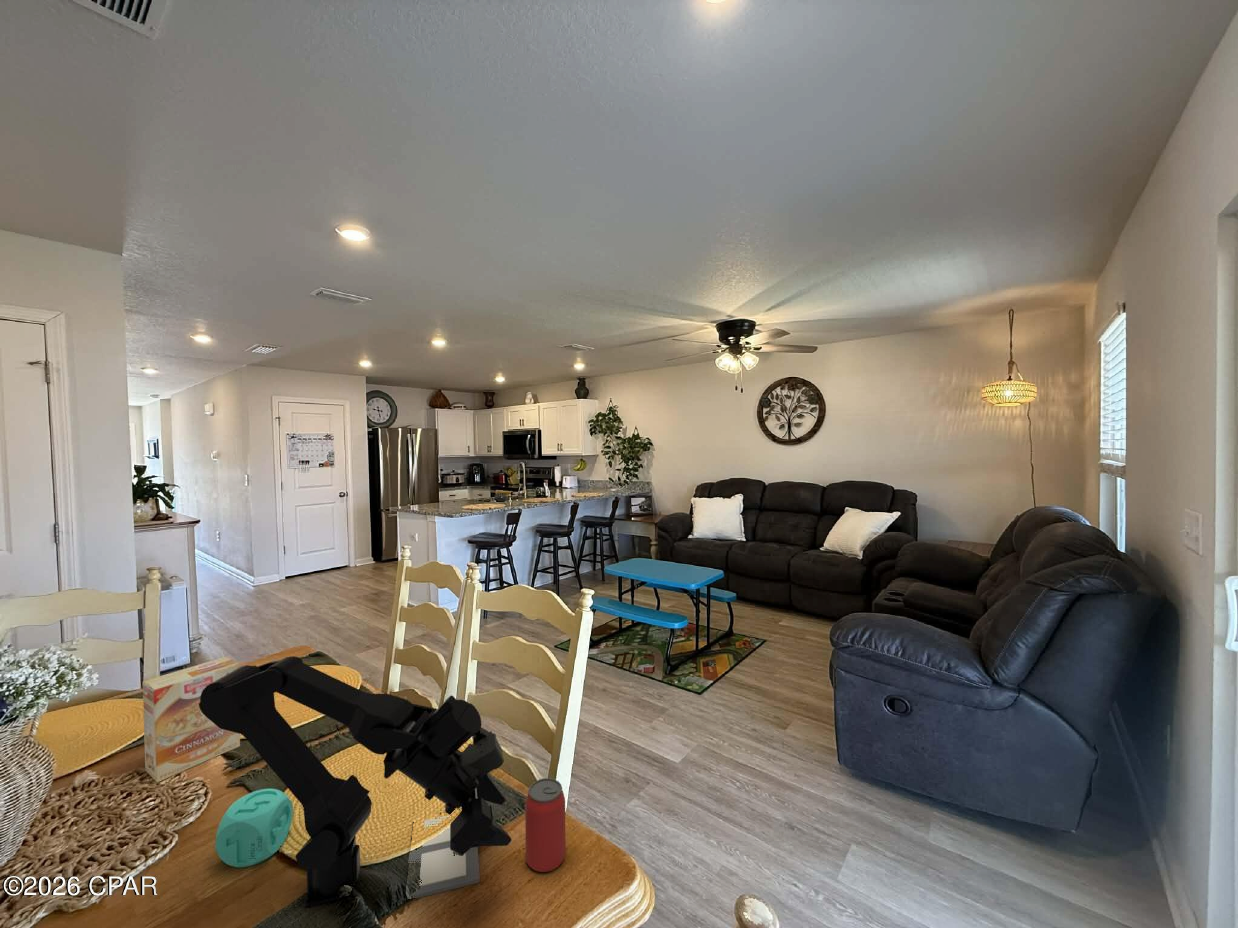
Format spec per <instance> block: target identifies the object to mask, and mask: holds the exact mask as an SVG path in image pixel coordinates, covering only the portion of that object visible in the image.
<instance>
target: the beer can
mask: <svg viewBox="0 0 1238 928" xmlns="http://www.w3.org/2000/svg"><path fill="white" fill-rule="evenodd" d="M524 807H525V808H524V811H525V812H524V813H525V814H524V815H525V816H524V818H525V820H524V822H525V823H524V825H525V827H524V828H525V833H524V834H525V861H526V863H527V865H528V867H529V868H531V869H532V870H533V871H536V872H539V873H547V872H551V871H553V870H555V869H557V868H558V867H559V866H560V865H561V864H562V863H563V861H564V860H565V857H566V798H565V793H564V790H563V787H562V784H561V783H560V781H559V780H557V779H555V778H550V777H545V778H539V779H537V780H535V781H534V782H533V783H531V785H529V788H528V792H527V796H526V799H525V805H524Z"/></svg>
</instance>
